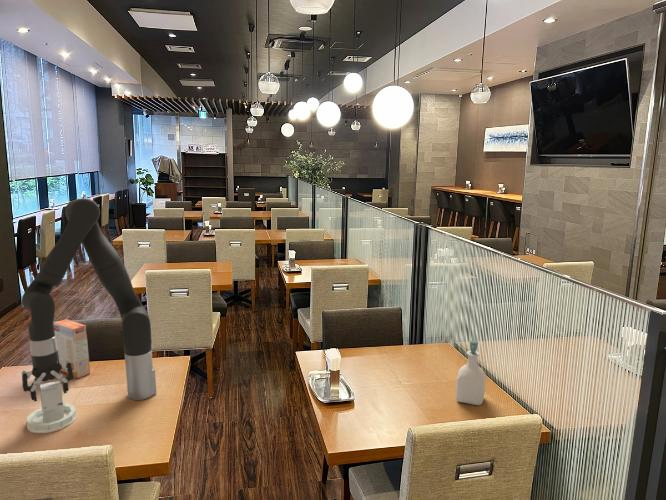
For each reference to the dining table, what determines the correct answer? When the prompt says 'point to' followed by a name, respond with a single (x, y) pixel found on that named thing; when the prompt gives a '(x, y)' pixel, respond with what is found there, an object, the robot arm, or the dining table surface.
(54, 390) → the skincare box
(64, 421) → the dish
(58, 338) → the cracker box
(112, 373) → the dining table surface
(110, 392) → the dining table surface
